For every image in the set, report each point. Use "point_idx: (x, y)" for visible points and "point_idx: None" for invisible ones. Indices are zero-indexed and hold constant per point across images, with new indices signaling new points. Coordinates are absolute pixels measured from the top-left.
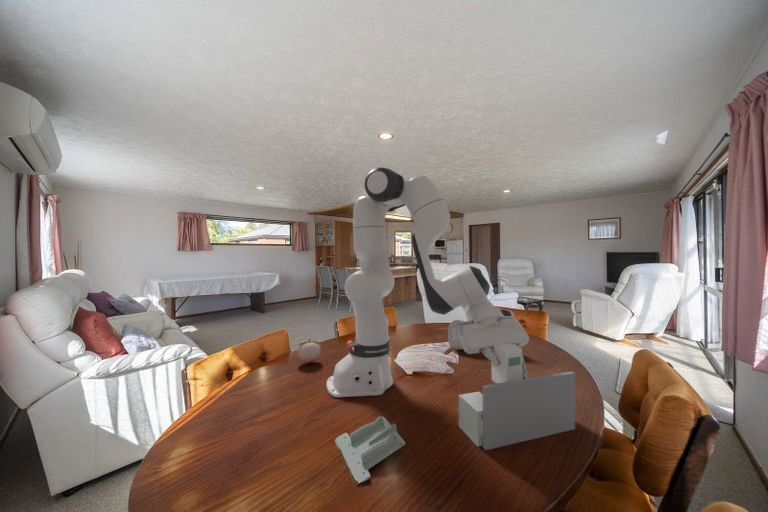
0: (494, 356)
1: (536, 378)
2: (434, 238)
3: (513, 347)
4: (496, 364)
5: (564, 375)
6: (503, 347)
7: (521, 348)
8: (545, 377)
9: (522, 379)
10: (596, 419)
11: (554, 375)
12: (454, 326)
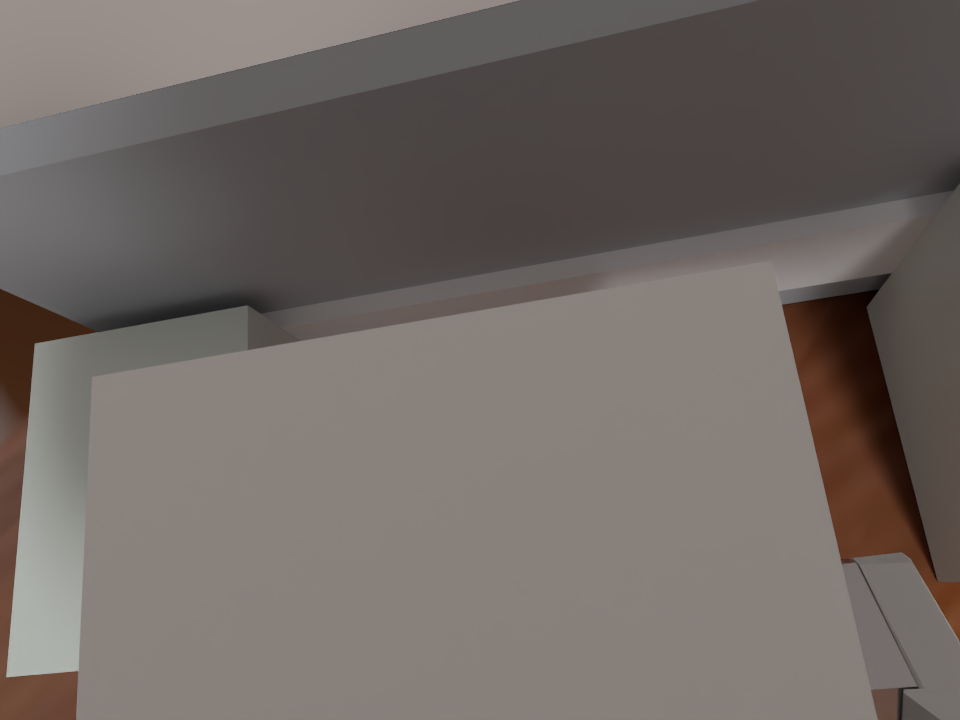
0: (956, 705)
1: (430, 43)
2: None
3: (261, 551)
4: (898, 556)
5: (2, 133)
6: (642, 669)
7: (94, 389)
8: (285, 67)
9: (666, 17)
10: (10, 441)
11: (122, 119)
12: None
